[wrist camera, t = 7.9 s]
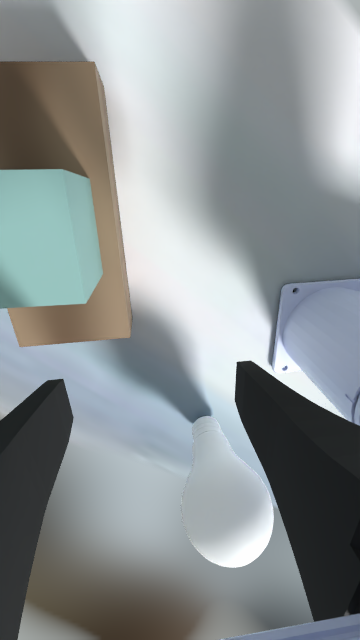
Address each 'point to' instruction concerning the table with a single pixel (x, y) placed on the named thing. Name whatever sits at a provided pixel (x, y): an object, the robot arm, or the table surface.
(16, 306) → the teal cube
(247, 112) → the table surface
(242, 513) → the lightbulb
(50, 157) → the pencil box
